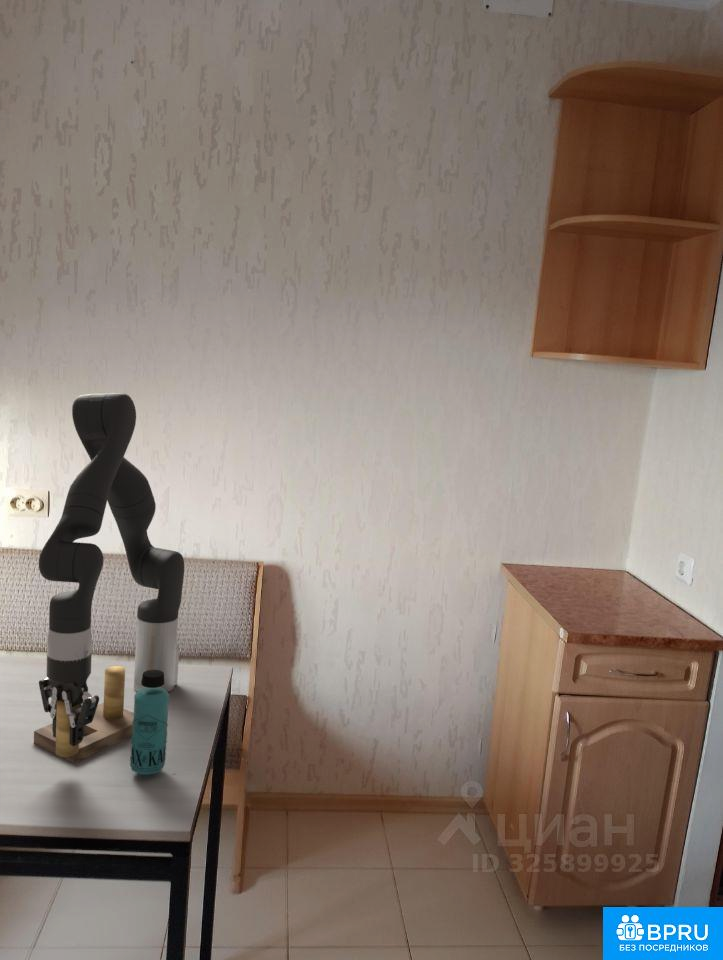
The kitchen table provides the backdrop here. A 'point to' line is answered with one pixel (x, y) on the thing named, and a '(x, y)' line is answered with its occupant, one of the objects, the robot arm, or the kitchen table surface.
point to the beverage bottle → (149, 724)
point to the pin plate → (99, 721)
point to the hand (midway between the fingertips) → (67, 739)
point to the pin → (64, 732)
